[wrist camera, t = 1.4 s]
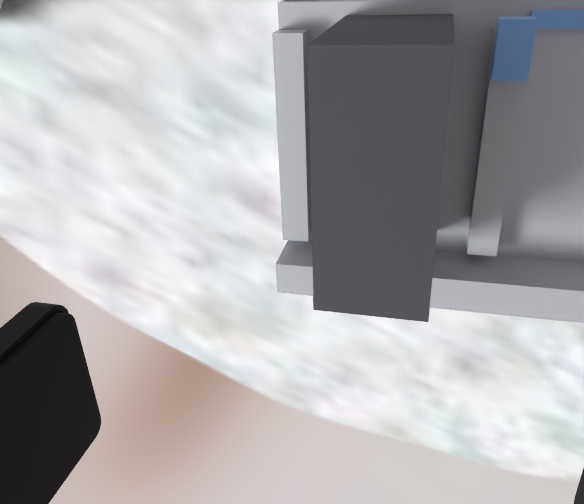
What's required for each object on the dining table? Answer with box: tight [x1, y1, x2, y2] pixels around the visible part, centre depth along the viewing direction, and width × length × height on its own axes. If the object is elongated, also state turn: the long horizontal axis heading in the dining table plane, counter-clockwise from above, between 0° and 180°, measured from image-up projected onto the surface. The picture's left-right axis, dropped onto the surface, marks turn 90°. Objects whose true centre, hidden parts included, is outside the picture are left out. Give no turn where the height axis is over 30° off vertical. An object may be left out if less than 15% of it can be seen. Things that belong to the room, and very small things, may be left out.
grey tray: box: [272, 0, 584, 323], centre depth 22 cm, size 12×18×3 cm, turn 93°
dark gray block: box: [307, 14, 455, 322], centre depth 20 cm, size 9×4×7 cm, turn 2°
